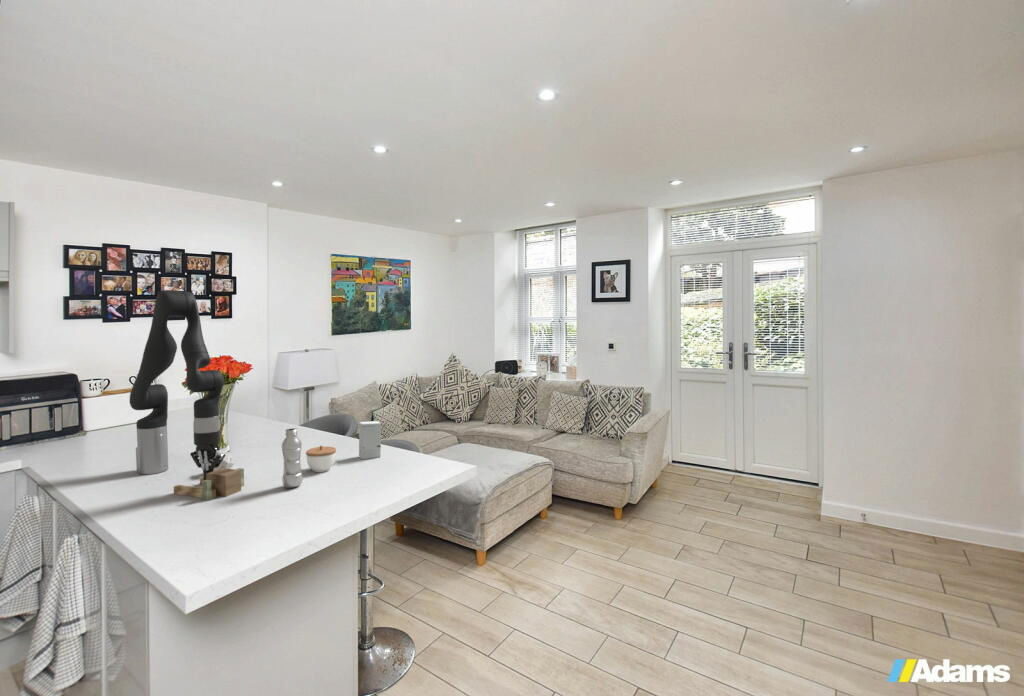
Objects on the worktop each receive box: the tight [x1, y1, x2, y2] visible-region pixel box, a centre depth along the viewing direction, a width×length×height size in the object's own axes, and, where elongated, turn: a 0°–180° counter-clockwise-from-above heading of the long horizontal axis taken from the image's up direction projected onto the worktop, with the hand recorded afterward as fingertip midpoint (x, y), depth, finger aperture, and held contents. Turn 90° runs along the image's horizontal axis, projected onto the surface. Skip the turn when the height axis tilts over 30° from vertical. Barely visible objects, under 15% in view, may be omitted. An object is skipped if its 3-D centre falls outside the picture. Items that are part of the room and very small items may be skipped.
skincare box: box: [358, 420, 382, 460], centre depth 200 cm, size 8×6×15 cm
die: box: [213, 451, 236, 471], centre depth 178 cm, size 8×9×10 cm
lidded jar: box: [305, 445, 337, 473], centre depth 182 cm, size 11×11×9 cm
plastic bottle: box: [281, 427, 303, 489], centre depth 163 cm, size 6×7×20 cm
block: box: [206, 468, 242, 497], centre depth 158 cm, size 8×6×7 cm
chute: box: [173, 467, 245, 501], centre depth 160 cm, size 16×14×6 cm
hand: (208, 480), depth 159 cm, fingers closed
